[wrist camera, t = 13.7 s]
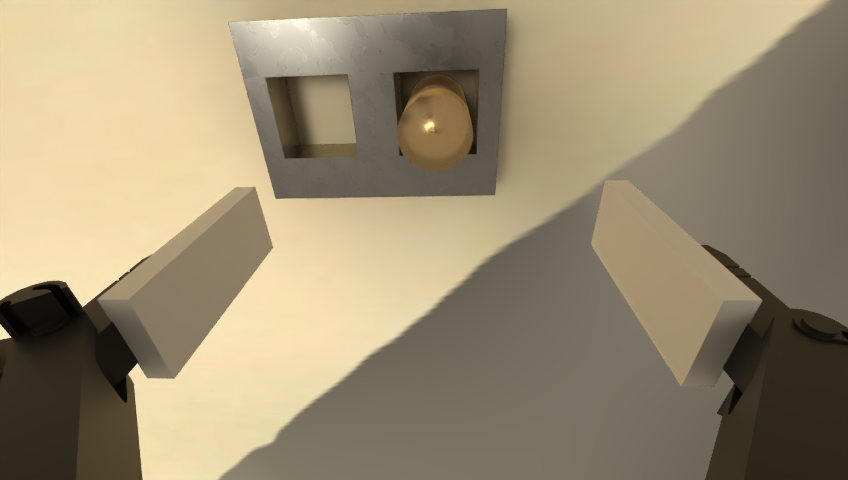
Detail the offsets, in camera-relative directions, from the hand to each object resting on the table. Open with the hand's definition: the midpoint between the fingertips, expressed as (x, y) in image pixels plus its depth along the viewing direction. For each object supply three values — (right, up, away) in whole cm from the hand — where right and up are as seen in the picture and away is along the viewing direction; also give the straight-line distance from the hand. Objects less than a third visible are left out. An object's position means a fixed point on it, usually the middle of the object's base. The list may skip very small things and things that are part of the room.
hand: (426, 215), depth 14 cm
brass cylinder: (+1, +11, +19) cm, 22 cm away
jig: (-4, +11, +19) cm, 22 cm away
